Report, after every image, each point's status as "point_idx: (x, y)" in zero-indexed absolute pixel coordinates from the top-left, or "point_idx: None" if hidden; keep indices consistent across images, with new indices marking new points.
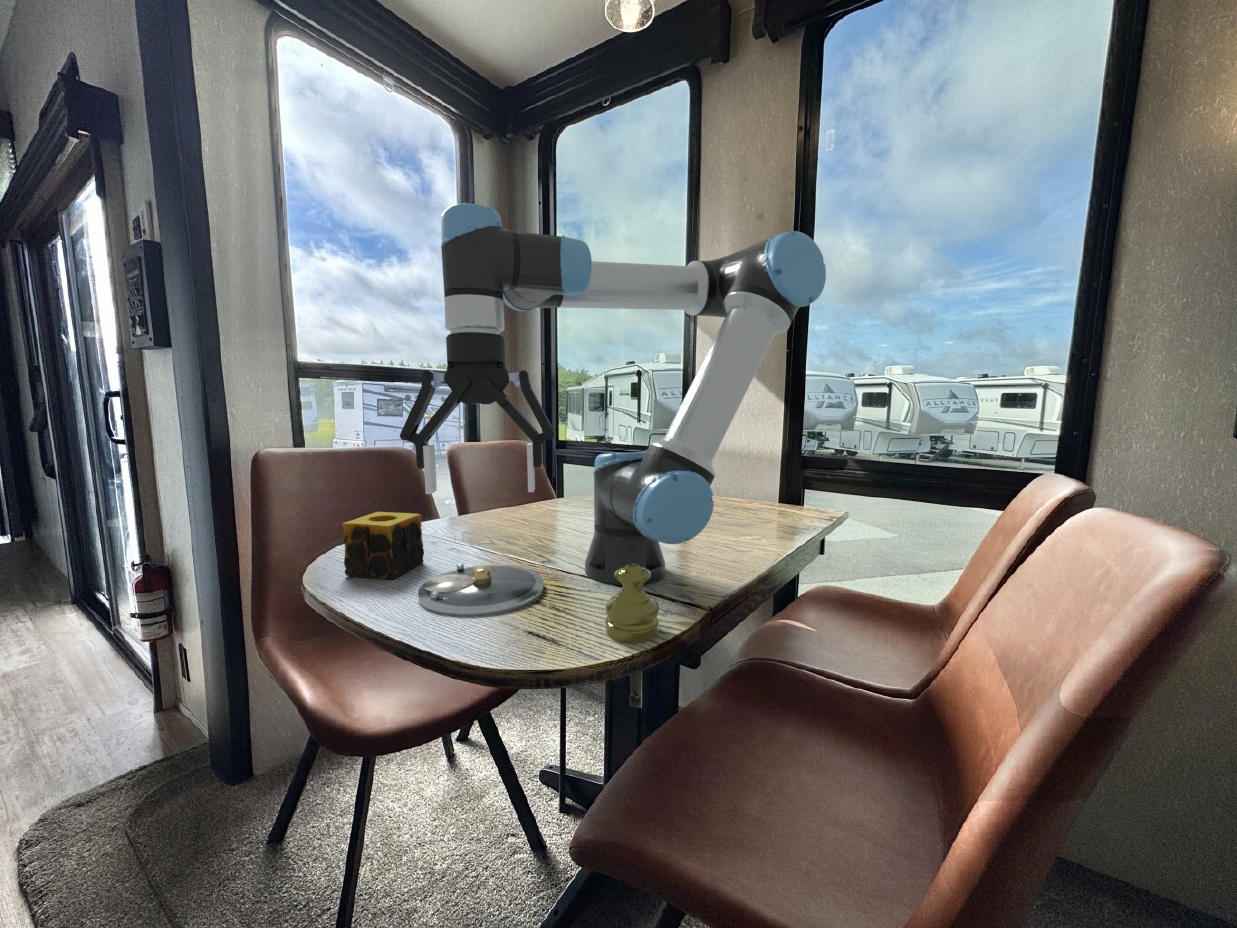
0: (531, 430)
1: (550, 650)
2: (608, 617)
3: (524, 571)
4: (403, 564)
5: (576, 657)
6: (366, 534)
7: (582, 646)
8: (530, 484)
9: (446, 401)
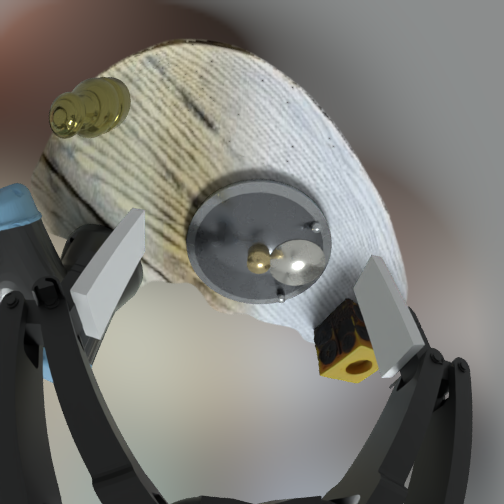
0: (48, 332)
1: (192, 80)
2: (119, 113)
3: (207, 274)
4: (337, 317)
5: (168, 62)
6: None
7: (158, 84)
8: (131, 219)
9: (401, 489)
